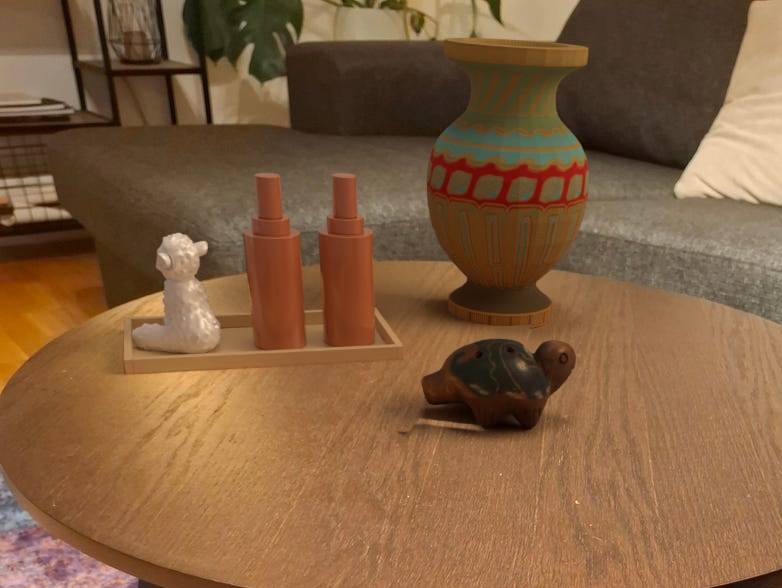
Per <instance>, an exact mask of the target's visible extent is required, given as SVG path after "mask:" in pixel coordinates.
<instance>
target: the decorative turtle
mask: <svg viewBox="0 0 782 588" xmlns="http://www.w3.org/2000/svg"><path fill="white" fill-rule="evenodd" d="M576 362H577V355H576V352H575V350H574V348H573V346H572V345H571V344H570V343H567V342H565V341H562V340H558V339H557V340H555V339H552V340H551V339H550V340H546V341H543V342H541V343H540V345H539V346H538V347H537V348H536V350H535V352H531V351H530V350H529V348H528V347H526V345H524V344H523V343H521V342H520V341H517V340H514V339H508V338H486V339H480V340H477V341H474V342H472V343H469V344H465V345H462V346H461V347H458V348H457V349H455V350H454V351H453V352H452V353H451V354H449V355H448V356H447V358H446V359H445V360H444V362H443V363H442V366H441V368H440V369H439V370H436V371H435V372H432V373H429V374H427V375H425V376H422V378H421V381H420V383H421V388H422V392H423V397H424V399H425V401H426V402H427V404H428V405H431V406H443V405H444V406H445V405H453V404H454V405H455V404H466V405H468V407H470V409H471V411H472V412H473V415H474V418H475V420H476V423H478V424H479V426H480V427H481V428H483V429H490V428H493V427H494V426H495V425H497V424H498V423H499V422H501V420H503V419H504V418H505V417H507V416H509V415H512V416H513V418H515V420H516V421H517V423H519V425H520V426H522V427H523V428H524V429H526V430H530V429H531V430H532V429H533V428H534V427H536V426H537V425H538V424H539V422H540V419H541V417H542V414H543V412H544V409H545V407H546V405H547V403H548V400H549V398H550V397H551V396H552V395H553V394H554V393H556V392H557V391H558V390H559V389H560V388H562V386H563V385H564V384H565V382H567V380H568V378H569V377H570V376H571V374H572V372H573V370H574V369H575V367H576Z"/></svg>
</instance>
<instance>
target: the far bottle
mask: <svg viewBox="0 0 782 588" xmlns="http://www.w3.org/2000/svg"><path fill="white" fill-rule="evenodd" d="M330 177H331V178H330V179H331V196H332V197H331V198H332V201H331V202H332V212H331V213H330V212H329V213H328V214H326V226H322V227H319V228H318V230H317V236H318V259H319V275H320V277H319V278H320V279H319V280H320V294H321V295H320V296H321V298H320V299H321V310H322V318H323V337H324V342H325V343H326V344H328V345H330V346H333V347H350V346H370V345H372V344H373V343H374V342H375V308H376V307H375V260H374V259H375V257H374V256H375V254H374V253H375V251H374V249H375V248H374V231H373V230H372V229H371V228H368V227H365V217H364V215H362V214H361V213H358V197H357V195H358V192H357V175H355V174H354V173H348V172H336V173H332V174H331V176H330Z"/></svg>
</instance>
